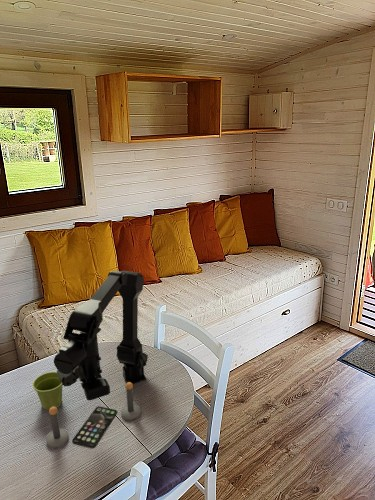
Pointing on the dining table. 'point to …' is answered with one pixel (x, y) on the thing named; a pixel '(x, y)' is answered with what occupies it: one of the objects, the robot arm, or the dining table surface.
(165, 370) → the dining table surface
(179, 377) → the dining table surface
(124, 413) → the stand inner
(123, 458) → the dining table surface
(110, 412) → the smartphone
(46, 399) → the plant pot
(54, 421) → the stand
